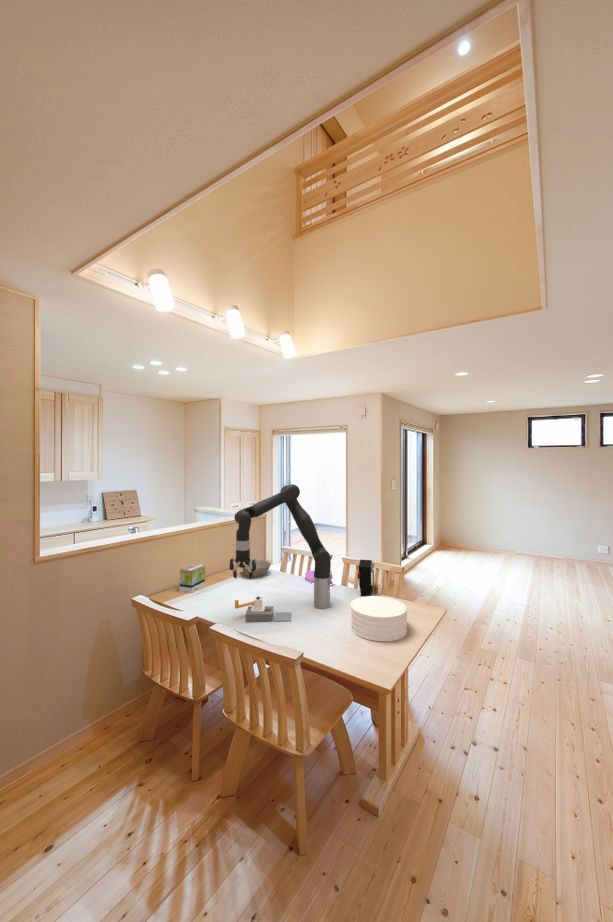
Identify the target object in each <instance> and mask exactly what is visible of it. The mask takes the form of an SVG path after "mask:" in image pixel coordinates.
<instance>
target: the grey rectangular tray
mask: <svg viewBox="0 0 613 922" xmlns="http://www.w3.org/2000/svg"><path fill="white" fill-rule="evenodd" d="M264 606H265V611H264V613H251V609H252V605H249V606H247V609H246V613H245V623H249V622H250V623H265V622H266V623H267V622H268V623H272V622H273V621H274V620H273V619H274V615H275V614H274V613H275V612H274V609H275V608H274V607H275V606H274V605H264Z"/></svg>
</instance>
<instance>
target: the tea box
mask: <svg viewBox="0 0 613 922" xmlns="http://www.w3.org/2000/svg"><path fill="white" fill-rule="evenodd" d="M179 569H180V571H179V592H180V593H181V592H182V593H189V594H192V593H194V592H196V591H198V590H200V589H201V588H203V587H205V585H206V564H199V563H192V564H190V565H188V566H184V567H183V568H179Z"/></svg>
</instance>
